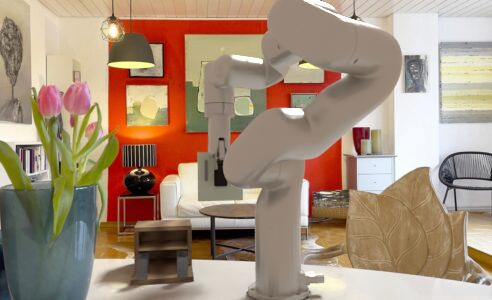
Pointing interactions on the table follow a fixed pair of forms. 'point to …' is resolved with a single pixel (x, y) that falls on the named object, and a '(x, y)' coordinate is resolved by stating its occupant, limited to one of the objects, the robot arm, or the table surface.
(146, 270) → the hinge clips
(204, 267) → the table surface
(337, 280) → the table surface
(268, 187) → the robot arm
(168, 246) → the cabinet
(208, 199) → the door
